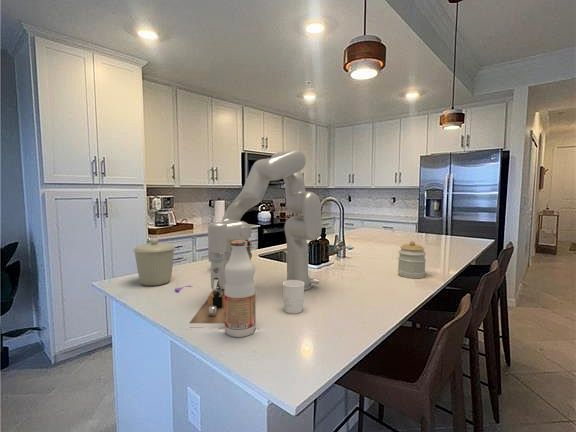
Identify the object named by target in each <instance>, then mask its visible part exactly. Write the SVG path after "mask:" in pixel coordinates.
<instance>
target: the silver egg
mask: <svg viewBox="0 0 576 432" xmlns="http://www.w3.org/2000/svg"><path fill="white" fill-rule="evenodd" d="M215 316H217V310H216V306H209V317H215Z"/></svg>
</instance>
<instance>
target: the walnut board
mask: <svg viewBox="0 0 576 432" xmlns="http://www.w3.org/2000/svg"><path fill="white" fill-rule="evenodd" d="M216 310H217V316H215V317H209V307H208V298H207V299H206V300H205V302H204V303H203V304H202V305H201V307H200V308H199V309H198V311H197V312H196V313H195V315H194V316H193V317H192V319H191V320H190V321H189V324H225V307H222V308H216ZM192 328H195V329H198V328H199V329H203V327H194V326H193V327H189V329H192Z"/></svg>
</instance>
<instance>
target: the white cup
mask: <svg viewBox="0 0 576 432" xmlns="http://www.w3.org/2000/svg"><path fill="white" fill-rule="evenodd" d="M304 299H305V291H304V282H302V281H298V280H288V281H287V280H284V281H283V282H282V300H283V311H284V312H285V313H288V314H300V313H302V312H303V309H304Z"/></svg>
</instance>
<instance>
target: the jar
mask: <svg viewBox="0 0 576 432" xmlns="http://www.w3.org/2000/svg"><path fill="white" fill-rule="evenodd" d="M424 250H425V247H423V246H422V245H420V244H416V242H415V241H414V240H410V241H409V243H407V244H406V243H405V244H402V245H401V246H400V249H399V250H398V254H399V256H398V258H397V259H398V261H397V262H398V264H397V265H398V267H397V275H399V276H400V277H402V278H407V279H423V278H425V275H426V257H425V256H426V255H427V253H426V252H425V251H424Z"/></svg>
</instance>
